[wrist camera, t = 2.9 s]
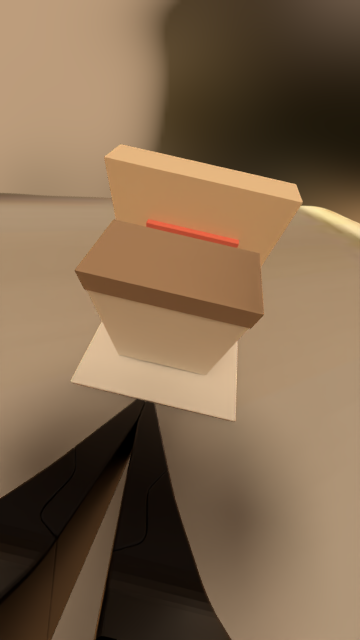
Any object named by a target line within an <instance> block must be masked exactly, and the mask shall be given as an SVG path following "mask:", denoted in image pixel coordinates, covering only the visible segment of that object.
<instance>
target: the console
mask: <svg viewBox="0 0 360 640" xmlns="http://www.w3.org/2000/svg"><path fill="white" fill-rule="evenodd" d="M104 159H105V164H106V169H107V175H108V180H109V185H110V191H111V196H112V201H113V206H114V212H115V217H116V220H119V221H123V222H127V223H132V224H136V225H140V226H145V227H149V228H153V229H157V230H162V231H166V232H170V233H175V234H179V235H183V236H188V237H192V238H196V239H200V240H205V241H209V242H213V243H218V244H222V245H226V246H231V247H235V248H239V249H244V250H248V251H252V252H256V253H260V264H261V266H262V264H263V263H264V261H265V260H266V258H267V257H268V255H269V254H270V252H271V251H272V249H273V248H274V246H275V244H276V243H277V241H278V240H279V238H280V237H281V235H282V234H283V232H284V231H285V229H286V227H287V226H288V224H289V223H290V221H291V220H292V218H293V217H294V215H295V214H296V212H297V211H298V209H299V207H300V206H301V204H302V203H303V202H302V199H301V197H300V194H299V191H298V189H297V186H296V184H292V183H287V182H284V181H279V180H275V179H270V178H265V177H262V176H257V175H252V174H249V173H244V172H240V171H235V170H231V169H227V168H222V167H218V166H214V165H209V164H205V163H201V162H196V161H191V160H187V159H183V158H178V157H174V156H170V155H166V154H161V153H157V152H152V151H148V150H144V149H139V148H135V147H130V146H126V145H122V144H121V145H119V146H118V147H116V148H115V149H114V150H112V151H111V152H110V153H109V154H107V155H106V156H105V157H104ZM237 349H238V341H237V342H236V343H235V344H234V345H233V346H232V347H231V348H230V349H229V350H228V352H227V353H226V354H225V355H224V356H223V357H222V358H221V359H220V360H219V361H218V362H217V363H216V364H215V366H214V367H213V368H212V369H211V370H210V371H209V372H208V373H207V374H206V375H202V374H198V373H194V372H190V371H185V370H181V369H177V368H173V367H169V366H164V365H160V364H156V363H152V362H148V361H143V360H139V359H135V358H131V357H127V356H122V355H118V352H117V350H116V348H115V346H114V344H113V342H112V340H111V338H110V336H109V334H108V332H107V330H106V328H105V326H104V324H103V322H101V324H100V326H99V328H98V330H97V331H96V333H95V335H94V337H93V339H92V341H91V343H90V345H89V347H88V349H87V351H86V352H85V354H84V356H83V358H82V360H81V362H80V364H79V366H78V368H77V370H76V372H75V373H74V375H73V377H72V379H71V381H70V382H72V383H75V384H79V385H83V386H87V387H91V388H96V389H100V390H104V391H108V392H112V393H116V394H121V395H125V396H129V397H133V398H137V399H141V400H146V401H150V402H154V403H158V404H162V405H166V406H171V407H175V408H179V409H183V410H187V411H191V412H196V413H200V414H204V415H208V416H212V417H216V418H221V419H225V420H229V421H236V386H237Z"/></svg>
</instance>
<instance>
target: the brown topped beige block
mask: <svg viewBox="0 0 360 640" xmlns="http://www.w3.org/2000/svg"><path fill="white" fill-rule="evenodd" d="M75 272H76V274H77V276H78V278H79V280H80V282H81V284H82V286H83V288H84V289H85V290H87V292H88V294H89V296H90V298H91V300H92V302H93V304H94V306H95V308H96V310H97V312H98V314H99V316H100V318H101V320H102V322H103V324H104V326H105V328H106V330H107V332H108V334H109V336H110V338H111V340H112V342H113V344H114V346H115V348H116V350H117V352H118V355H122V356H127V357H131V358H135V359H139V360H143V361H148V362H152V363H156V364H160V365H164V366H169V367H173V368H177V369H181V370H185V371H190V372H194V373H198V374H202V375H206V374H207V373H208V372H209V371H210V370H211V369H212V368H213V367H214V366H215V364H216V363H217V362H218V361H219V360H220V359H221V358H222V357H223V356H224V355H225V354H226V353H227V352H228V350H229V349H230V348H231V347H232V346H233V345H234V344H235V343H236V342H237V341H238V340H239V339H240V337H241V336H242V335H243V334H244V333H245V332H246V331H247V330H248V329H249V328H250V329H251V328H252V327H253V326H254V325H255V324H256V323H257V322H258V320H259V319H260V318H261V317H262V316H263V315H264V308H263V294H262V279H261V264H260V253H256V252H252V251H248V250H244V249H239V248H235V247H231V246H226V245H222V244H218V243H213V242H209V241H205V240H200V239H196V238H192V237H188V236H183V235H179V234H175V233H170V232H166V231H162V230H157V229H153V228H149V227H145V226H140V225H136V224H132V223H127V222H123V221H119V220H113V221H112V222H111V223H110V225H109V226H108V227H107V229H106V230H105V231H104V233H103V234H102V235H101V237H100V238H99V239H98V240H97V242H96V243H95V244H94V246H93V247H92V248H91V250H90V251H89V252H88V254H87V255H86V256H85V257H84V259H83V260H82V261H81V263H80V264H79V265H78V267H77V268H76V269H75Z"/></svg>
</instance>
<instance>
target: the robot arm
mask: <svg viewBox="0 0 360 640" xmlns="http://www.w3.org/2000/svg"><path fill="white" fill-rule="evenodd" d="M130 455H131V456H130ZM129 457H130V461H129V466H128V471H127V476H126V481H125V486H124V491H123V496H122V501H121V506H120V511H119V516H118V521H117V526H116V530H115V535H114V540H113V545H112V550H111V555H110V560H109V565H108V570H107V575H106V580H105V585H104V590H103V595H102V600H101V605H100V610H99V615H98V620H97V625H96V630H95V635H94V640H231V638H230V637H229V635H228V633H227V632H226V630H225V628H224V627H223V625H222V624H221V622H220V620H219V618H218V617H217V615H216V613H215V611H214V609H213V607H212V605H211V603H210V601H209V599H208V596H207V594H206V591H205V589H204V586H203V584H202V581H201V578H200V575H199V572H198V569H197V566H196V563H195V560H194V557H193V554H192V551H191V547H190V544H189V541H188V538H187V535H186V532H185V529H184V526H183V523H182V520H181V517H180V513H179V510H178V507H177V503H176V500H175V496H174V492H173V488H172V484H171V479H170V474H169V471H168V465H167V461H166V456H165V451H164V446H163V442H162V437H161V432H160V427H159V422H158V418H157V413H156V408H155V404H154V403H153V402H149V401H146V402H145V400H141V399H136V400H135V401H134V402H132V403H131V404H130V405H128V406H127V407H126V408H124V409H123V410H122V411H121V412H119V413H118V414H117V415H115V416H114V417H113V418H112V419H110V420H109V421H108V422H106V423H105V424H104V425H102V426H101V427H100V428H99V429H97V430H96V431H95V432H93V433H92V434H91V435H89V436H88V437H87V438H86V439H84V440H83V441H82V442H80V443H79V444H78V445H77V446H75V448H72V449H71V450H70V451H69V452H67V453H66V454H65V455H63V456H62V457H61V458H59V459H58V460H57V461H55V462H54V463H53V464H51V465H50V466H48V467H47V468H46V469H44V470H43V471H41V472H40V473H38V474H37V475H35V476H34V477H32V478H31V479H29V480H28V481H26V482H25V483H23V484H22V485H20V486H19V487H17V488H15V489H14V490H12V491H11V492H9V493H8V494H6V495H5V496H3V497H2V498H0V640H51V639H52V636H53V634H54V632H55V629H56V627H57V625H58V622H59V620H60V618H61V615H62V613H63V611H64V608H65V606H66V604H67V602H68V599H69V597H70V595H71V592H72V590H73V588H74V585H75V583H76V581H77V578H78V576H79V574H80V571H81V569H82V567H83V564H84V562H85V560H86V557H87V555H88V553H89V550H90V548H91V546H92V544H93V541H94V539H95V537H96V534H97V532H98V530H99V527H100V525H101V523H102V520H103V518H104V516H105V513H106V511H107V509H108V506H109V504H110V502H111V499H112V497H113V495H114V492H115V490H116V488H117V485H118V483H119V481H120V479H121V476H122V474H123V472H124V469H125V467H126V465H127V462H128V460H129Z"/></svg>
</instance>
